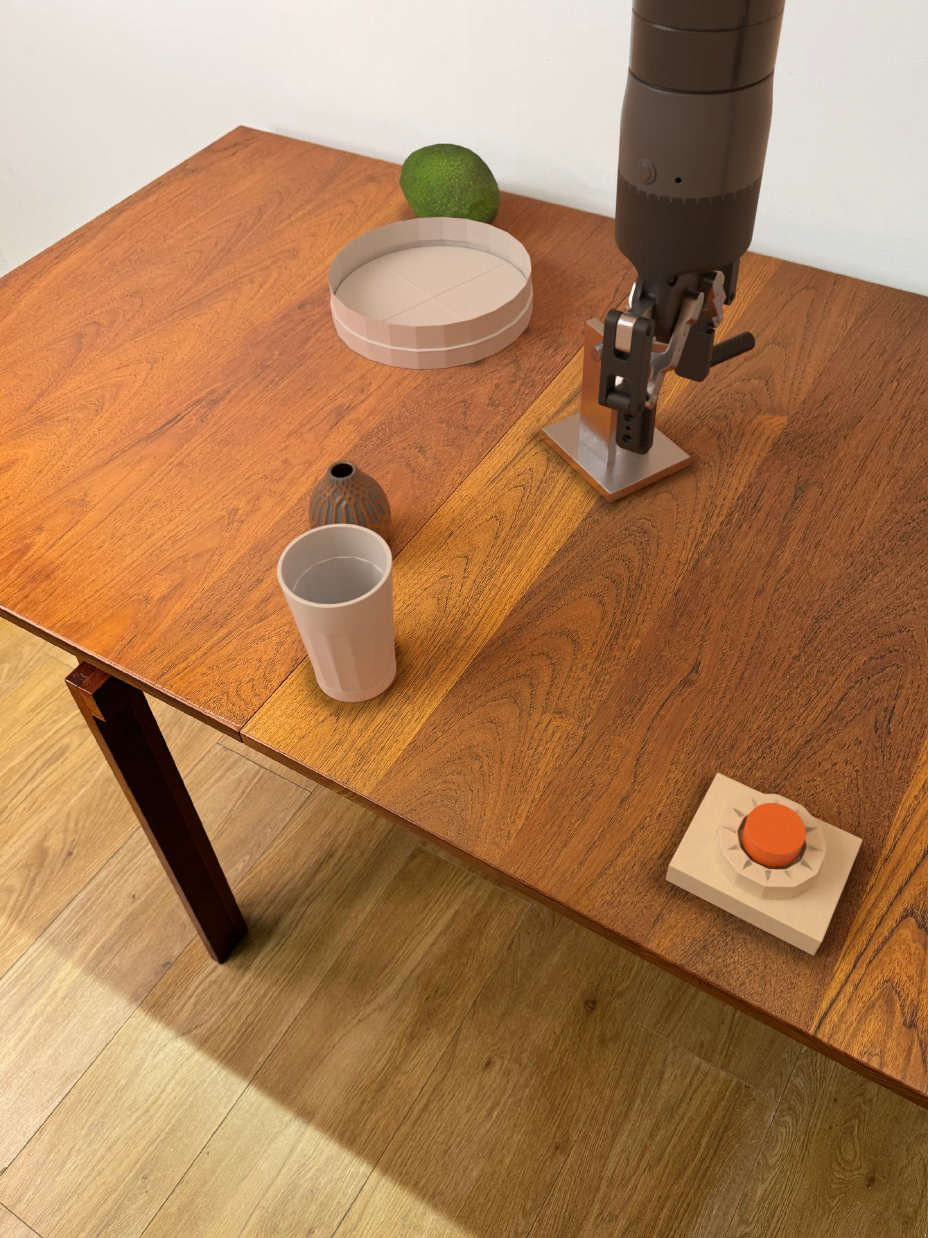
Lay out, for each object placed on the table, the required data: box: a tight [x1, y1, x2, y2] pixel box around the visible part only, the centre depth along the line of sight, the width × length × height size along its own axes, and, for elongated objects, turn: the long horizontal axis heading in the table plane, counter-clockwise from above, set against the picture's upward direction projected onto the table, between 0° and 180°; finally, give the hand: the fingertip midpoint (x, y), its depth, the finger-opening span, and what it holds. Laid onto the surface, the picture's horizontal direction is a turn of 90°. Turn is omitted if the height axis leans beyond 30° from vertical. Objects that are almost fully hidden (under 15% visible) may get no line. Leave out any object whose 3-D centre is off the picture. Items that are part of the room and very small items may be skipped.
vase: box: [308, 459, 392, 543], centre depth 83 cm, size 7×7×9 cm
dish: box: [327, 217, 534, 370], centre depth 108 cm, size 22×22×5 cm
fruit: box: [399, 143, 501, 226], centre depth 118 cm, size 15×10×10 cm, turn 31°
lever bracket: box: [540, 303, 691, 504], centre depth 88 cm, size 11×9×14 cm
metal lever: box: [652, 330, 756, 369], centre depth 79 cm, size 14×6×2 cm, turn 32°
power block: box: [665, 772, 863, 956], centre depth 64 cm, size 10×8×4 cm
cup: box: [276, 524, 397, 703], centre depth 73 cm, size 8×8×12 cm
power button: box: [742, 803, 806, 867], centre depth 62 cm, size 4×4×2 cm
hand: (663, 410), depth 64 cm, fingers open, 8 cm apart
